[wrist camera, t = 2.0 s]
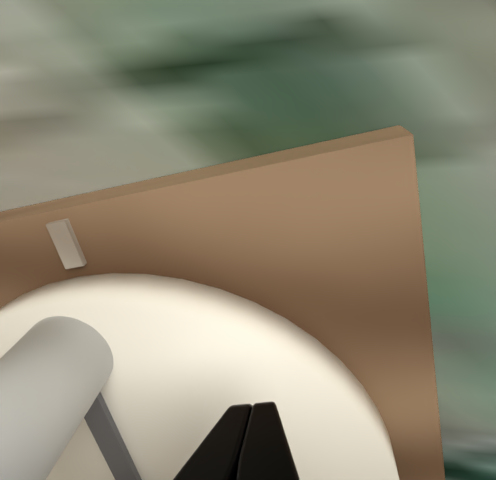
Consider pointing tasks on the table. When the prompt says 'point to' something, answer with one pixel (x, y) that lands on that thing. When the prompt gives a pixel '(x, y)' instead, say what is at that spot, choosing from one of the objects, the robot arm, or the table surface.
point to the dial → (168, 382)
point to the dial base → (274, 258)
